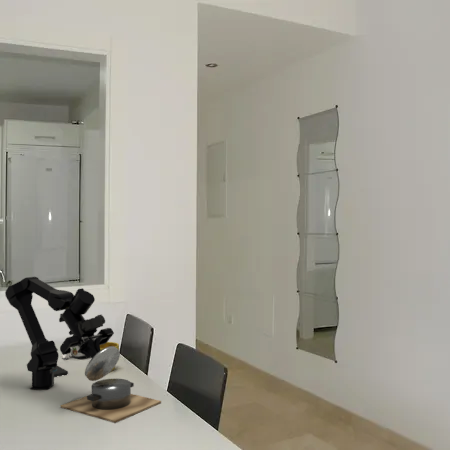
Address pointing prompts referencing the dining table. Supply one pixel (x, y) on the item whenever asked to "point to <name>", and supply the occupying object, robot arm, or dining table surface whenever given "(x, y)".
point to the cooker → (111, 394)
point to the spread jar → (75, 353)
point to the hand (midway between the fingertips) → (100, 361)
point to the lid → (102, 363)
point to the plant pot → (109, 346)
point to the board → (114, 415)
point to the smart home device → (59, 371)
